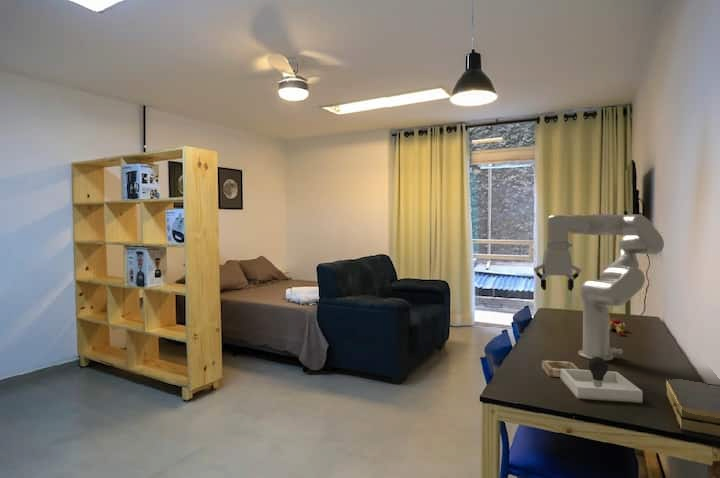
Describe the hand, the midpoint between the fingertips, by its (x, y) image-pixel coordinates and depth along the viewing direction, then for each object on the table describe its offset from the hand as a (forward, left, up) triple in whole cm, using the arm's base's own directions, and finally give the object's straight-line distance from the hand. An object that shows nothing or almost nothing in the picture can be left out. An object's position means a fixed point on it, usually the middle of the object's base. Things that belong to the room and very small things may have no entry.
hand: (556, 289), depth 166 cm
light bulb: (-5, +30, -28) cm, 41 cm away
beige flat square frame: (+2, +14, -28) cm, 32 cm away
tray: (-5, +30, -28) cm, 42 cm away
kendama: (-45, -59, -29) cm, 80 cm away
